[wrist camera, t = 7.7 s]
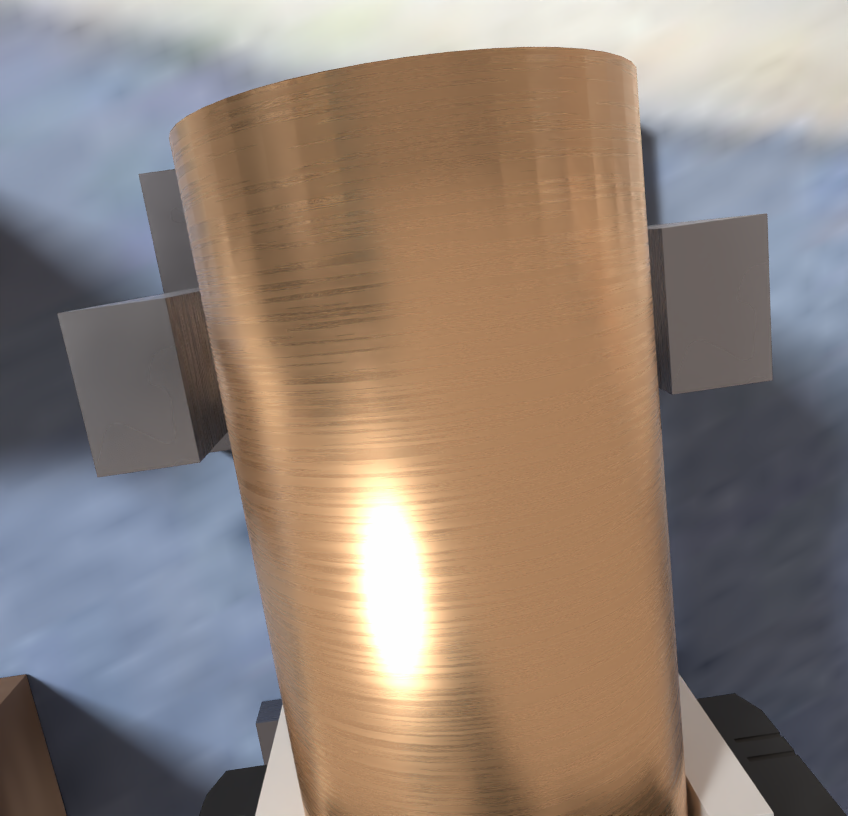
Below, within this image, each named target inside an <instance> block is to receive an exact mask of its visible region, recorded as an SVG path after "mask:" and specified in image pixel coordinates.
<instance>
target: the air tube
mask: <svg viewBox="0 0 848 816" xmlns="http://www.w3.org/2000/svg"><path fill="white" fill-rule="evenodd" d="M169 140H170V145H171V150H172V155H173V160H174V165H175V170H176V175H177V180H178V185H179V190H180V195H181V200H182V205H183V210H184V215H185V220H186V225H187V230H188V235H189V240H190V245H191V250H192V255H193V260H194V265H195V270H196V275H197V280H198V285H199V290H200V295H201V300H202V305H203V310H204V315H205V320H206V325H207V330H208V335H209V340H210V345H211V350H212V355H213V360H214V365H215V370H216V374H217V379H218V384H219V389H220V394H221V399H222V404H223V409H224V414H225V419H226V424H227V429H228V434H229V439H230V444H231V449H232V454H233V459H234V464H235V469H236V474H237V479H238V484H239V489H240V494H241V499H242V504H243V509H244V514H245V519H246V524H247V529H248V534H249V539H250V544H251V549H252V554H253V559H254V564H255V569H256V574H257V579H258V584H259V589H260V594H261V599H262V604H263V609H264V614H265V619H266V624H267V629H268V634H269V639H270V644H271V649H272V654H273V659H274V663H275V668H276V673H277V678H278V683H279V688H280V693H281V698H282V703H283V708H284V713H285V718H286V723H287V728H288V733H289V738H290V743H291V748H292V753H293V758H294V763H295V768H296V773H297V778H298V783H299V788H300V793H301V798H302V803H303V808H304V813H305V816H688V806H687V791H686V777H685V762H684V748H683V734H682V719H681V705H680V690H679V676H678V662H677V647H676V633H675V618H674V604H673V590H672V575H671V561H670V546H669V532H668V518H667V503H666V489H665V474H664V460H663V446H662V431H661V417H660V403H659V388H658V374H657V359H656V345H655V331H654V316H653V302H652V287H651V273H650V259H649V244H648V230H647V215H646V201H645V187H644V172H643V158H642V143H641V129H640V115H639V100H638V86H637V71H636V66H635V65H634V64H633V63H632V62H631V61H629V60H628V59H626V58H624V57H622V56H618V55H615V54H611V53H607V52H602V51H595V50H588V49H577V48H561V47H515V48H492V49H478V50H466V51H454V52H444V53H435V54H427V55H419V56H410V57H403V58H397V59H390V60H384V61H377V62H371V63H364V64H359V65H354V66H349V67H344V68H338V69H333V70H328V71H323V72H319V73H314V74H310V75H306V76H301V77H297V78H293V79H288V80H284V81H281V82H277V83H274V84H270V85H266V86H263V87H259V88H255V89H252V90H249V91H246V92H243V93H240V94H237V95H234V96H231V97H228V98H225V99H223V100H220V101H218V102H216V103H213V104H211V105H208V106H206V107H203V108H201V109H200V110H198V111H196V112H194V113H192V114H190V115H188V116H186V117H185V118H184V119H182V120H181V121H180V122H178V123H177V124H176V125H175V126H174V127H173V129H172V130H171V131H170V135H169Z"/></svg>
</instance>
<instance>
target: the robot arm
mask: <svg viewBox="0 0 848 816" xmlns="http://www.w3.org/2000/svg"><path fill="white" fill-rule="evenodd" d="M678 676H679V690H680V705H681V719H682V734H683V748H684V762H685V777H686V791H687V806H688V816H847V815H846V814H845V813H844V812H843V810H842V809H841V808H840V807H839V805H838V804H837V803H836V802H835V800H834V799H833V798H832V797H831V796H830V794H829V793H828V792H827V791H826V789H825V788H824V787H823V786H822V784H821V783H820V782H819V781H818V779H817V778H816V777H815V776H814V774H813V773H812V772H811V771H810V770H809V768H808V767H807V766H806V765H805V763H804V762H803V761H802V760H801V758H800V757H799V756H798V755H795V753H794V750H793V748H792V747H791V746H790V745H789V744H788V742H787V741H786V740H785V739H784V737H781V736H780V733H779V731H778V730H777V729H776V727H775V726H774V725H773V724H772V722H771V721H770V720H769V719H768V718H767V716H766V715H765V714H764V713H763V711H762V710H760V709H759V708H757V707H756V706H754V705H752V704H751V703H749V702H748V701H746V700H744V699H743V698H741V697H740V696H738V695H736V694H735V693H734V694H727V695H721V696H714V697H707V698H700V699H696V698H695V697H694V695H693V694H692V692H691V691H690V689H689V688H688V686H687V685H686V683H685V682H684V680H683V679H682V677H681V676H680V675H679V673H678ZM199 816H305V813H304V808H303V803H302V798H301V793H300V788H299V783H298V778H297V773H296V768H295V763H294V758H293V753H292V748H291V743H290V738H289V733H288V728H287V723H286V718H285V713H284V708H283V705H282V709H281V713H280V717H279V721H278V725H277V729H276V733H275V737H274V741H273V745H272V749H271V753H270V757H269V761H268V765H262V766H255V767H249V768H242V769H235V770H228V771H226V772H225V773H224V774H223V776H222V777H221V778H220V779H219V780H218V782H217V783H216V784H215V785H214V786H213V788H212V789H211V790H210V791H209V793H208V794H207V795H206V798H205V801H204V803H203V806H202V809H201V812H200V815H199Z"/></svg>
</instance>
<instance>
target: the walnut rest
mask: <svg viewBox="0 0 848 816" xmlns="http://www.w3.org/2000/svg"><path fill="white" fill-rule="evenodd" d="M0 816H67V815H66V811H65V808H64V804H63V801H62V797H61V794H60V790H59V787H58V783H57V780H56V776H55V773H54V769H53V766H52V762H51V759H50V755H49V752H48V748H47V745H46V742H45V738H44V735H43V731H42V728H41V724H40V721H39V717H38V714H37V710H36V707H35V703H34V700H33V696H32V693H31V689H30V686H29V682H28V679H27V675H26V674H25V675H19V676H12V677H5V678H0Z"/></svg>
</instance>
